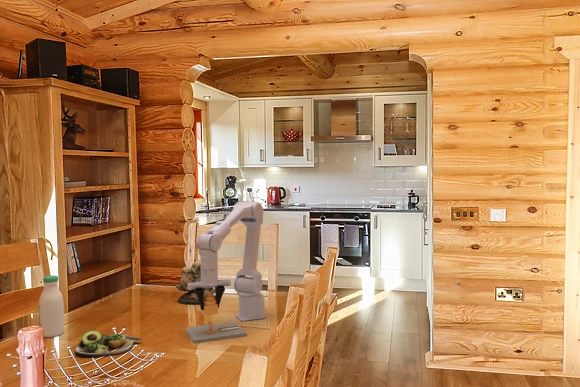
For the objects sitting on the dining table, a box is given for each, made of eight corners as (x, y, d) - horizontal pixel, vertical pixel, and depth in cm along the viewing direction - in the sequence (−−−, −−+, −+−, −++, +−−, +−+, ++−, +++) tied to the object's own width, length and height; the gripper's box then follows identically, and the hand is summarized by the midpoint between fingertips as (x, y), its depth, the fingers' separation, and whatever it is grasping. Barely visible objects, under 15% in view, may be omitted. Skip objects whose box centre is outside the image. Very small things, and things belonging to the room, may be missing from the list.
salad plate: (143, 336, 166) (143, 322, 166) (139, 354, 149) (139, 340, 148) (83, 340, 162) (82, 327, 162) (71, 360, 144) (71, 345, 144)
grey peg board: (235, 324, 177) (235, 312, 177) (246, 335, 164) (246, 323, 164) (185, 330, 170) (185, 318, 170) (193, 343, 158) (193, 330, 157)
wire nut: (214, 310, 169) (214, 291, 169) (218, 313, 164) (217, 294, 164) (201, 312, 167) (201, 293, 167) (204, 315, 163) (204, 295, 163)
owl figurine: (173, 305, 204) (172, 265, 203) (178, 298, 215) (177, 260, 215) (216, 304, 205) (216, 264, 204) (219, 297, 217) (218, 259, 216)
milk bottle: (69, 331, 170) (68, 275, 169) (52, 338, 163) (50, 279, 162) (52, 329, 173) (50, 273, 172) (34, 336, 165) (32, 278, 165)
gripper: (190, 273, 159) (190, 314, 159) (233, 269, 164) (233, 309, 165) (186, 269, 165) (186, 308, 166) (227, 265, 171) (228, 304, 171)
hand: (209, 308), depth 166 cm, fingers closed on wire nut, 5 cm apart
